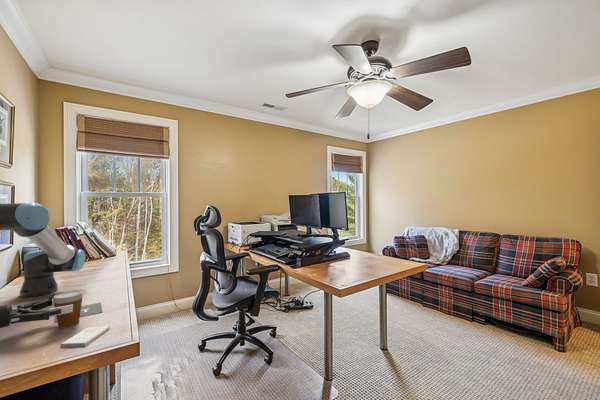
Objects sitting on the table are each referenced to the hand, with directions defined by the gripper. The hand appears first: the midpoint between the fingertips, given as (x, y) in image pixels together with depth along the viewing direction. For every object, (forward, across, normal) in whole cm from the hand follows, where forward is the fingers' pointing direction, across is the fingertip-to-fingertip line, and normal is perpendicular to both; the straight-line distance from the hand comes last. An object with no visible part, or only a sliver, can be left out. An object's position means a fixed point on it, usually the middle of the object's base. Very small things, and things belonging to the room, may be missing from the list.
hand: (73, 303), depth 109 cm
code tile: (+2, -14, -8) cm, 16 cm away
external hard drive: (+4, +18, -9) cm, 20 cm away
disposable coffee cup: (-1, 0, -8) cm, 8 cm away
